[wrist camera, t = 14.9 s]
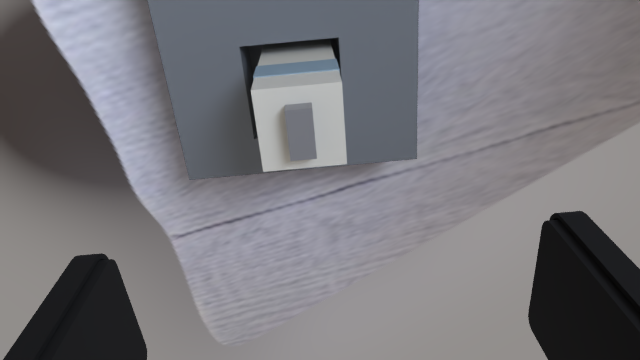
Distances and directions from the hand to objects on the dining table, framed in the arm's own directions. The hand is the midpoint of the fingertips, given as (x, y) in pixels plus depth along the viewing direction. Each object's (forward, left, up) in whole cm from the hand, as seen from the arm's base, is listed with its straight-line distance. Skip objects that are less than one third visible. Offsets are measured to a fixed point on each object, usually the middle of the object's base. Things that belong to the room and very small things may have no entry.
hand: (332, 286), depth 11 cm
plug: (+1, +1, -22) cm, 22 cm away
